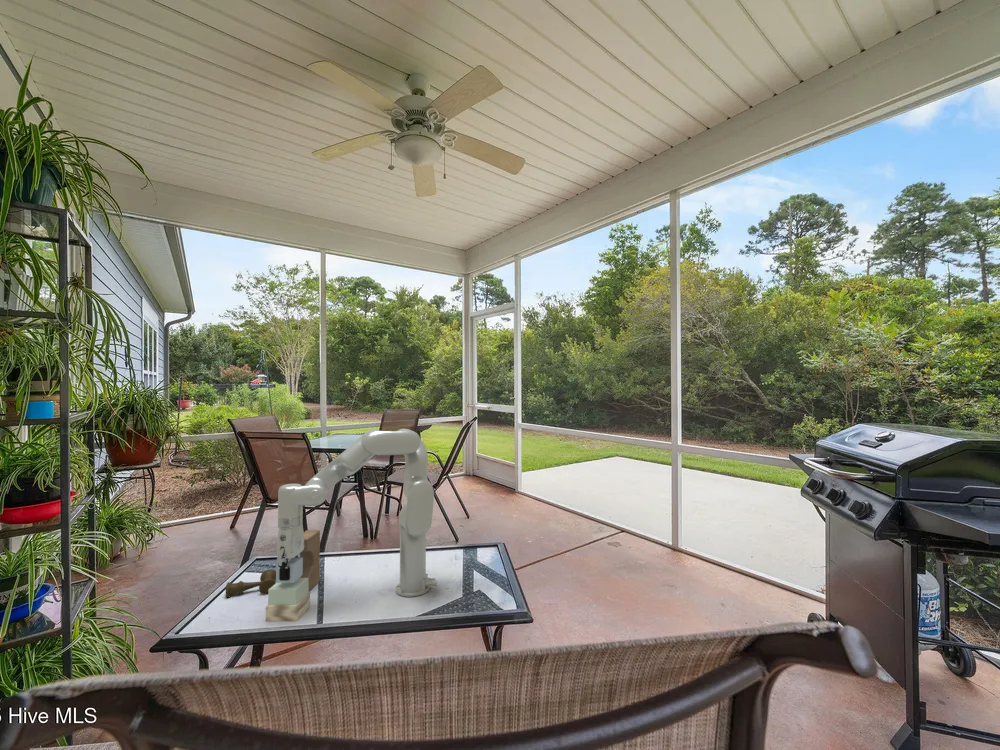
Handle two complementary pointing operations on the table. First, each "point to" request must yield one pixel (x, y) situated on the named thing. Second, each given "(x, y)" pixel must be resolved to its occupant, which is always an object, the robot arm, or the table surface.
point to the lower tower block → (288, 610)
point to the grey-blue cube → (292, 570)
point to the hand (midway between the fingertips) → (289, 575)
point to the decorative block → (311, 557)
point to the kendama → (253, 584)
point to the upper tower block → (288, 592)
